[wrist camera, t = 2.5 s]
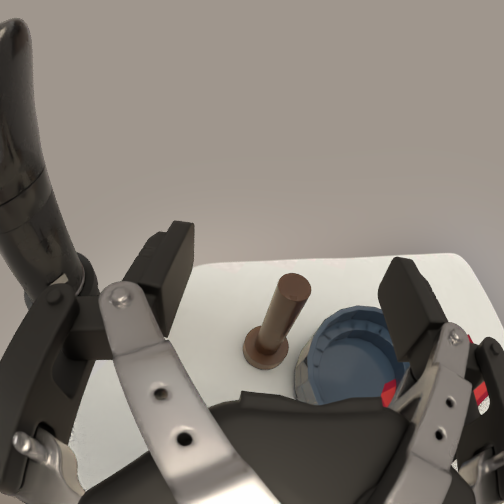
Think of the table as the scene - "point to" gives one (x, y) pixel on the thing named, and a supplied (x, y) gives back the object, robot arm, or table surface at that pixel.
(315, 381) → the bowl
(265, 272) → the table surface
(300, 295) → the brown cylinder
